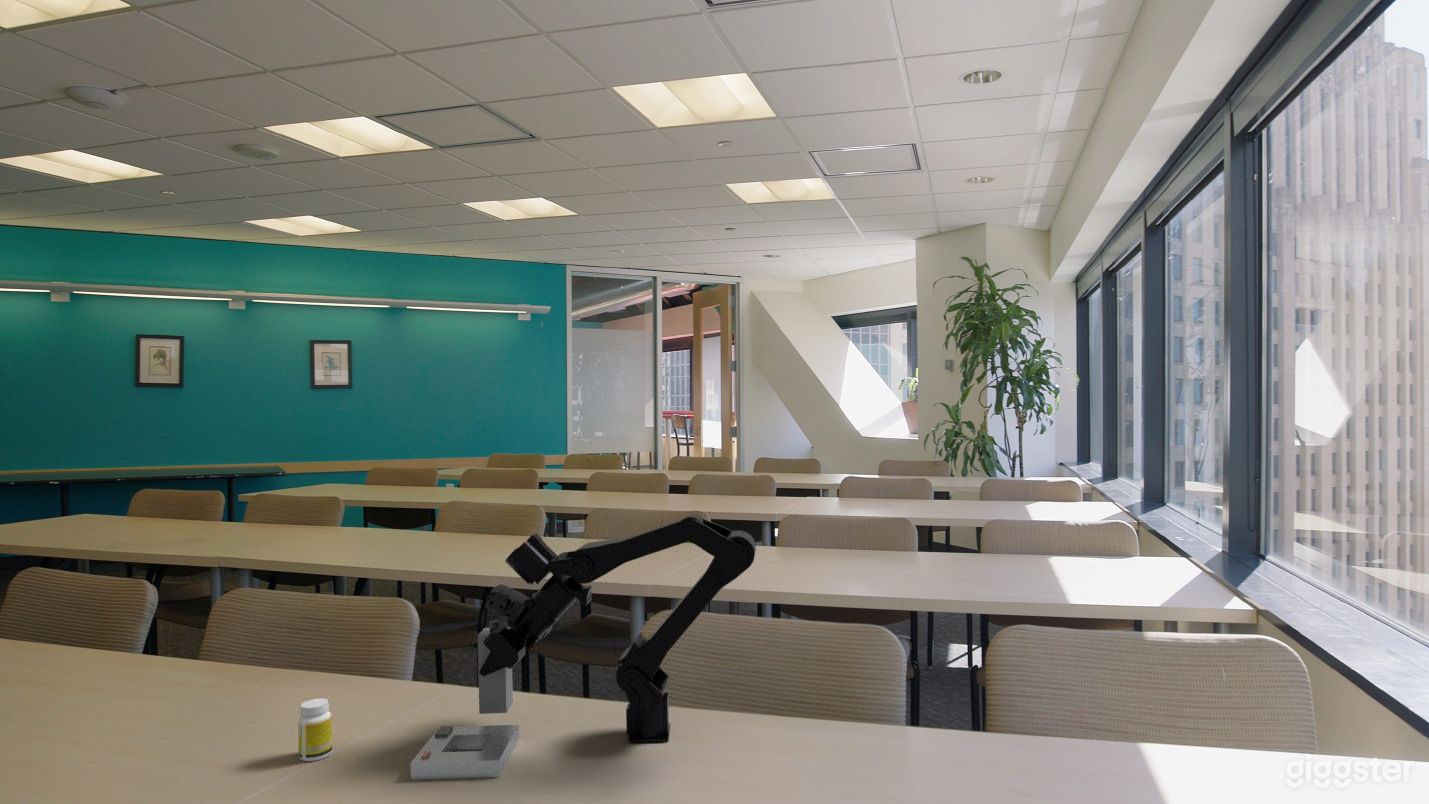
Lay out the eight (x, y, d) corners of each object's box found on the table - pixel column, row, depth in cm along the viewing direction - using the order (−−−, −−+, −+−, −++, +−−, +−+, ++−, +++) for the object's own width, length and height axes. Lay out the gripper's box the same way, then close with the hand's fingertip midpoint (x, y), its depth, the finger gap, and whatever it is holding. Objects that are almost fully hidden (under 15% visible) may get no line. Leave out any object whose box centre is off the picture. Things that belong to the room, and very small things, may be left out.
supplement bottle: (339, 751, 128) (337, 699, 128) (315, 763, 123) (314, 709, 123) (315, 747, 129) (314, 696, 129) (291, 760, 125) (290, 706, 125)
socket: (519, 739, 130) (518, 722, 130) (499, 777, 117) (498, 757, 117) (439, 742, 130) (439, 724, 130) (410, 779, 117) (410, 760, 117)
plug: (512, 702, 136) (510, 617, 136) (506, 712, 132) (504, 624, 132) (486, 703, 136) (484, 618, 136) (479, 713, 132) (477, 625, 132)
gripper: (533, 558, 143) (476, 620, 144) (494, 582, 124) (428, 652, 125) (577, 602, 142) (519, 663, 143) (544, 632, 123) (478, 702, 124)
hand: (487, 668), depth 134 cm, fingers closed on plug, 5 cm apart
